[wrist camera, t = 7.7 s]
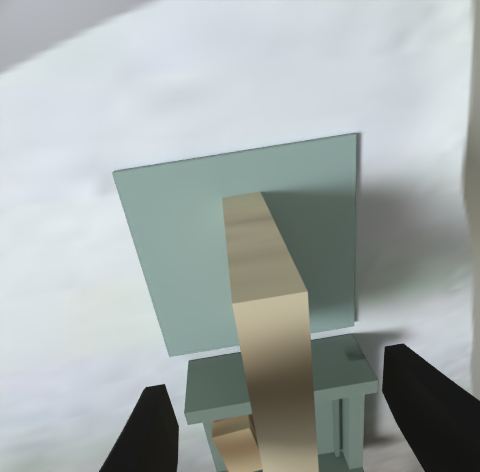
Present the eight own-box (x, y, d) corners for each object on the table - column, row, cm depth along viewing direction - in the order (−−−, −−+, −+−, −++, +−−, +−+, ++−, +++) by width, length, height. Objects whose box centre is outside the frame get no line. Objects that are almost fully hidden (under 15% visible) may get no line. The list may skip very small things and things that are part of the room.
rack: (350, 445, 27) (371, 499, 23) (218, 468, 27) (219, 525, 23) (351, 333, 22) (378, 380, 18) (188, 361, 21) (184, 413, 18)
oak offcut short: (264, 453, 23) (266, 468, 22) (231, 462, 23) (232, 477, 23) (247, 413, 21) (249, 427, 21) (211, 423, 22) (211, 437, 21)
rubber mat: (351, 322, 21) (354, 326, 21) (170, 352, 21) (169, 357, 21) (353, 133, 16) (356, 134, 16) (114, 170, 16) (112, 172, 16)
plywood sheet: (275, 315, 20) (318, 472, 12) (242, 320, 20) (264, 481, 12) (260, 191, 17) (307, 291, 8) (221, 197, 17) (231, 303, 8)
